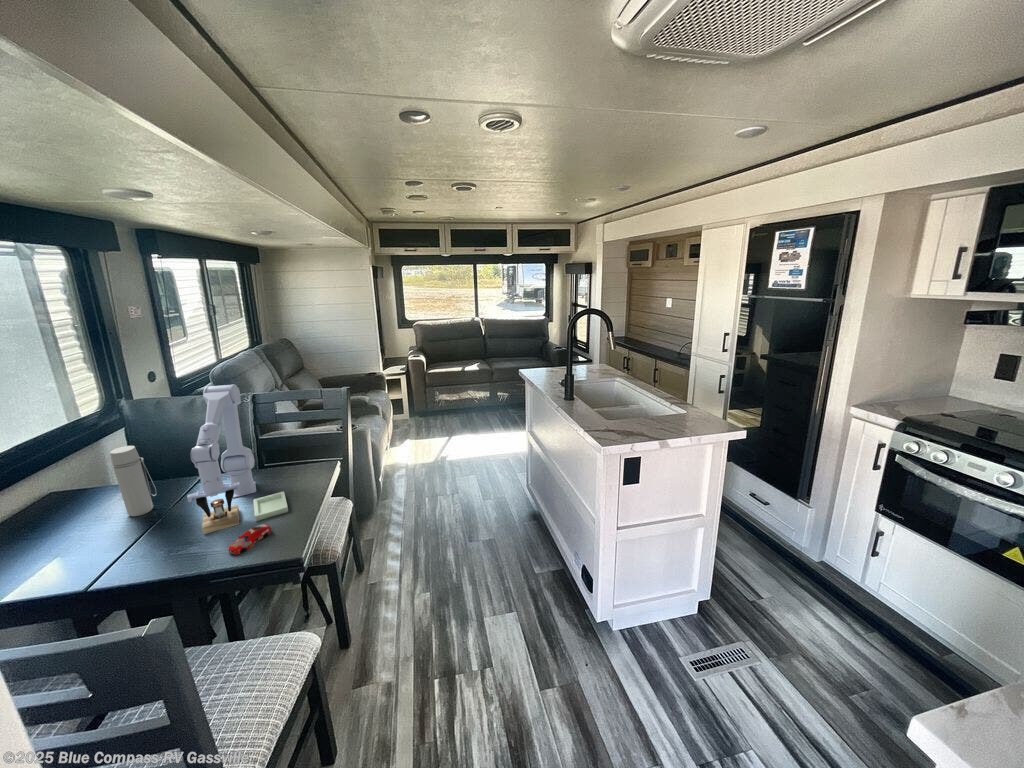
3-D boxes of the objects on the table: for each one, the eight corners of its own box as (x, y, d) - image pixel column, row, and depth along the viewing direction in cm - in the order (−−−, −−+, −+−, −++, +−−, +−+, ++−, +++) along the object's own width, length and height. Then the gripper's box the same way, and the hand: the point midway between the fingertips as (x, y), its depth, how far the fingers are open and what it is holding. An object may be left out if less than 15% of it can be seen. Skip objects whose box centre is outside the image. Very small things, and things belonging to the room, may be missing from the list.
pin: (215, 521, 143) (210, 501, 141) (228, 517, 145) (223, 497, 143) (215, 526, 140) (210, 506, 138) (228, 522, 142) (223, 502, 140)
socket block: (205, 519, 144) (203, 513, 143) (238, 510, 149) (237, 504, 148) (203, 534, 136) (201, 527, 135) (239, 524, 141) (237, 517, 140)
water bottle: (127, 520, 144) (107, 456, 137) (128, 511, 150) (108, 449, 143) (161, 510, 150) (143, 448, 143) (160, 501, 155) (143, 441, 149)
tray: (254, 504, 153) (253, 499, 152) (284, 495, 158) (283, 491, 158) (255, 521, 142) (254, 516, 142) (288, 511, 148) (287, 506, 147)
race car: (236, 558, 124) (233, 547, 123) (225, 554, 126) (222, 543, 125) (275, 533, 136) (273, 523, 135) (264, 529, 138) (262, 519, 137)
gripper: (183, 489, 131) (192, 525, 134) (236, 476, 138) (244, 511, 142) (185, 480, 136) (194, 515, 140) (236, 468, 144) (244, 502, 148)
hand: (219, 512), depth 141 cm, fingers open, 5 cm apart
